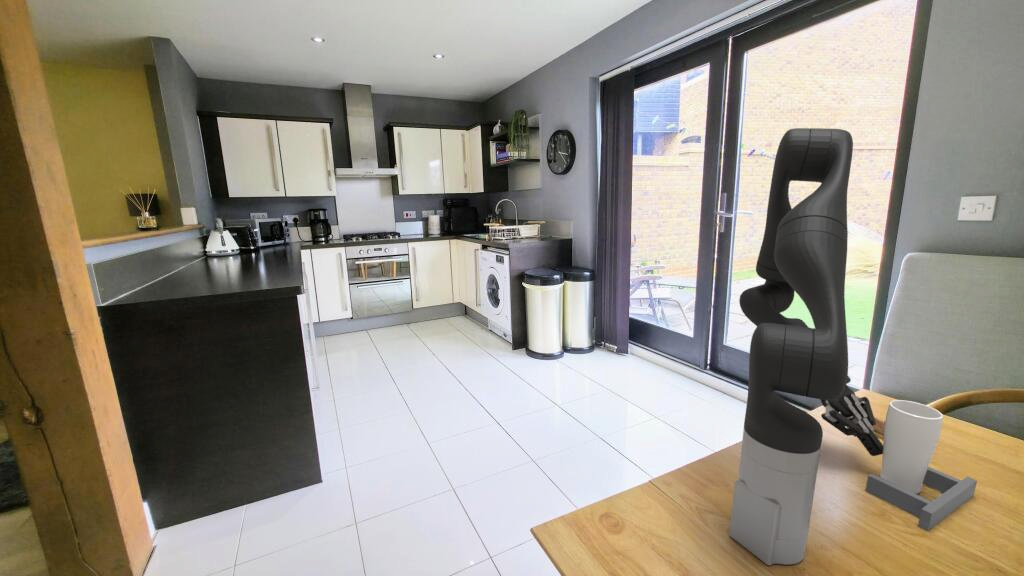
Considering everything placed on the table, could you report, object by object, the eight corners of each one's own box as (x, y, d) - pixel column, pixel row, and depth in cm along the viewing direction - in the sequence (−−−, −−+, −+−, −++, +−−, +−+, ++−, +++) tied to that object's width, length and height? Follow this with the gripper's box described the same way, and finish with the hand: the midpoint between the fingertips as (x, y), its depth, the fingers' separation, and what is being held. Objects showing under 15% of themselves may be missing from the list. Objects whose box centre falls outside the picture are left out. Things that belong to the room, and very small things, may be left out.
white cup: (924, 484, 73) (942, 407, 70) (927, 505, 68) (946, 423, 65) (874, 468, 77) (888, 395, 74) (873, 487, 72) (888, 409, 69)
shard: (899, 450, 84) (900, 442, 84) (851, 439, 88) (853, 432, 87) (885, 425, 93) (886, 418, 93) (843, 417, 97) (844, 410, 97)
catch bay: (928, 530, 62) (931, 513, 62) (858, 494, 70) (861, 479, 70) (973, 496, 70) (977, 480, 69) (905, 466, 78) (908, 452, 77)
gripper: (813, 366, 77) (882, 459, 69) (850, 353, 83) (918, 438, 74) (780, 381, 83) (841, 469, 74) (817, 369, 88) (877, 449, 80)
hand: (879, 453), depth 74 cm, fingers closed
